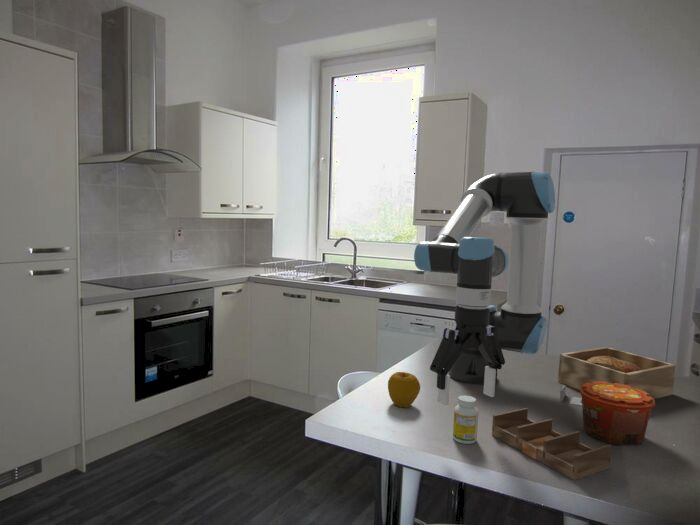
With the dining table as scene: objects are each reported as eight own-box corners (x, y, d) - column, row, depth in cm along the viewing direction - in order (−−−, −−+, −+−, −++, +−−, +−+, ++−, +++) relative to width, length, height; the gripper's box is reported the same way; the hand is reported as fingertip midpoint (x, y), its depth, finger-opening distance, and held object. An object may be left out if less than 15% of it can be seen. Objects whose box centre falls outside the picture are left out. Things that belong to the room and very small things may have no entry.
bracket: (598, 411, 134) (599, 399, 133) (559, 402, 139) (560, 390, 139) (601, 404, 139) (602, 392, 139) (563, 396, 144) (564, 384, 144)
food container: (616, 419, 128) (620, 379, 127) (668, 447, 112) (672, 402, 111) (562, 422, 124) (565, 381, 123) (608, 452, 109) (612, 405, 108)
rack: (491, 435, 115) (492, 415, 115) (524, 426, 120) (526, 407, 120) (573, 480, 96) (575, 456, 95) (609, 468, 101) (611, 445, 101)
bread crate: (556, 381, 156) (558, 354, 155) (604, 372, 168) (606, 346, 167) (625, 406, 137) (627, 375, 136) (673, 394, 149) (676, 365, 148)
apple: (422, 402, 134) (424, 371, 133) (413, 413, 126) (415, 380, 125) (393, 397, 138) (394, 366, 137) (382, 407, 130) (383, 374, 129)
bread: (567, 383, 154) (569, 352, 153) (590, 373, 166) (593, 344, 165) (639, 403, 139) (642, 369, 138) (659, 390, 151) (662, 358, 150)
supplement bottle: (469, 446, 109) (472, 404, 108) (448, 439, 112) (450, 398, 111) (480, 439, 113) (483, 398, 112) (459, 432, 116) (461, 392, 115)
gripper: (439, 311, 100) (433, 412, 102) (525, 306, 112) (518, 397, 114) (417, 305, 107) (411, 400, 108) (500, 301, 119) (494, 387, 121)
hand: (466, 399), depth 111 cm, fingers open, 13 cm apart
